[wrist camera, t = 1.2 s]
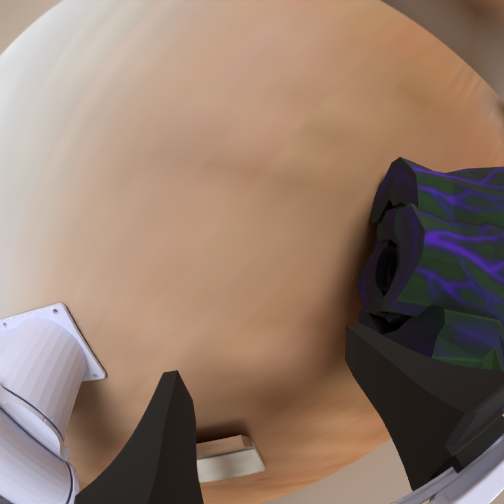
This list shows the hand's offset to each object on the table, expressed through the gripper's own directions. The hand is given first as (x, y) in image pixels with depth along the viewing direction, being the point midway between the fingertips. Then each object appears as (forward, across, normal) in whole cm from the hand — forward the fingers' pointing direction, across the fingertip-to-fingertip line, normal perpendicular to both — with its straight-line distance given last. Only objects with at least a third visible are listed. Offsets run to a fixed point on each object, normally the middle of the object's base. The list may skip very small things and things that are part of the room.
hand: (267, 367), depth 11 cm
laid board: (+10, +8, +26) cm, 29 cm away
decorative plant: (+10, -20, +4) cm, 23 cm away
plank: (+8, +8, +18) cm, 21 cm away
